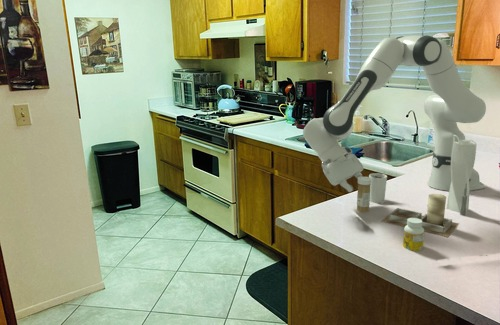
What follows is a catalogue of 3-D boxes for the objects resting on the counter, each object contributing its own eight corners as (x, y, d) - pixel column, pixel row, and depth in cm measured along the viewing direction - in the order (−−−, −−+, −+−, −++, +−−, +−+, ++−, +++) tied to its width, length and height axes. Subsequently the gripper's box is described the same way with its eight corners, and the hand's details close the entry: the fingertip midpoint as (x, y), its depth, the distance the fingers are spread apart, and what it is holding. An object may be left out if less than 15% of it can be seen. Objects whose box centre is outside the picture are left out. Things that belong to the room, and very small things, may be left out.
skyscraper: (439, 213, 143) (447, 136, 136) (449, 207, 148) (457, 132, 141) (463, 220, 137) (473, 139, 130) (474, 213, 142) (483, 136, 135)
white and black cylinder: (364, 200, 158) (365, 176, 155) (373, 196, 162) (374, 172, 160) (380, 204, 153) (381, 179, 151) (388, 199, 158) (390, 175, 155)
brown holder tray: (380, 225, 134) (380, 216, 134) (394, 213, 144) (395, 204, 143) (447, 242, 121) (448, 231, 120) (458, 227, 131) (459, 218, 130)
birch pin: (437, 222, 132) (439, 193, 130) (446, 228, 127) (449, 198, 125) (423, 223, 131) (425, 194, 129) (431, 229, 127) (434, 199, 124)
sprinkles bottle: (354, 211, 147) (355, 176, 143) (366, 210, 147) (368, 175, 144) (358, 216, 142) (360, 180, 139) (371, 215, 143) (373, 179, 139)
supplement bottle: (425, 255, 114) (428, 224, 111) (406, 255, 114) (409, 224, 111) (417, 246, 119) (420, 216, 116) (399, 247, 119) (402, 216, 117)
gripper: (325, 158, 138) (350, 190, 134) (352, 147, 153) (375, 175, 149) (313, 168, 142) (338, 200, 138) (341, 156, 157) (363, 185, 153)
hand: (357, 187), depth 144 cm, fingers open, 8 cm apart
